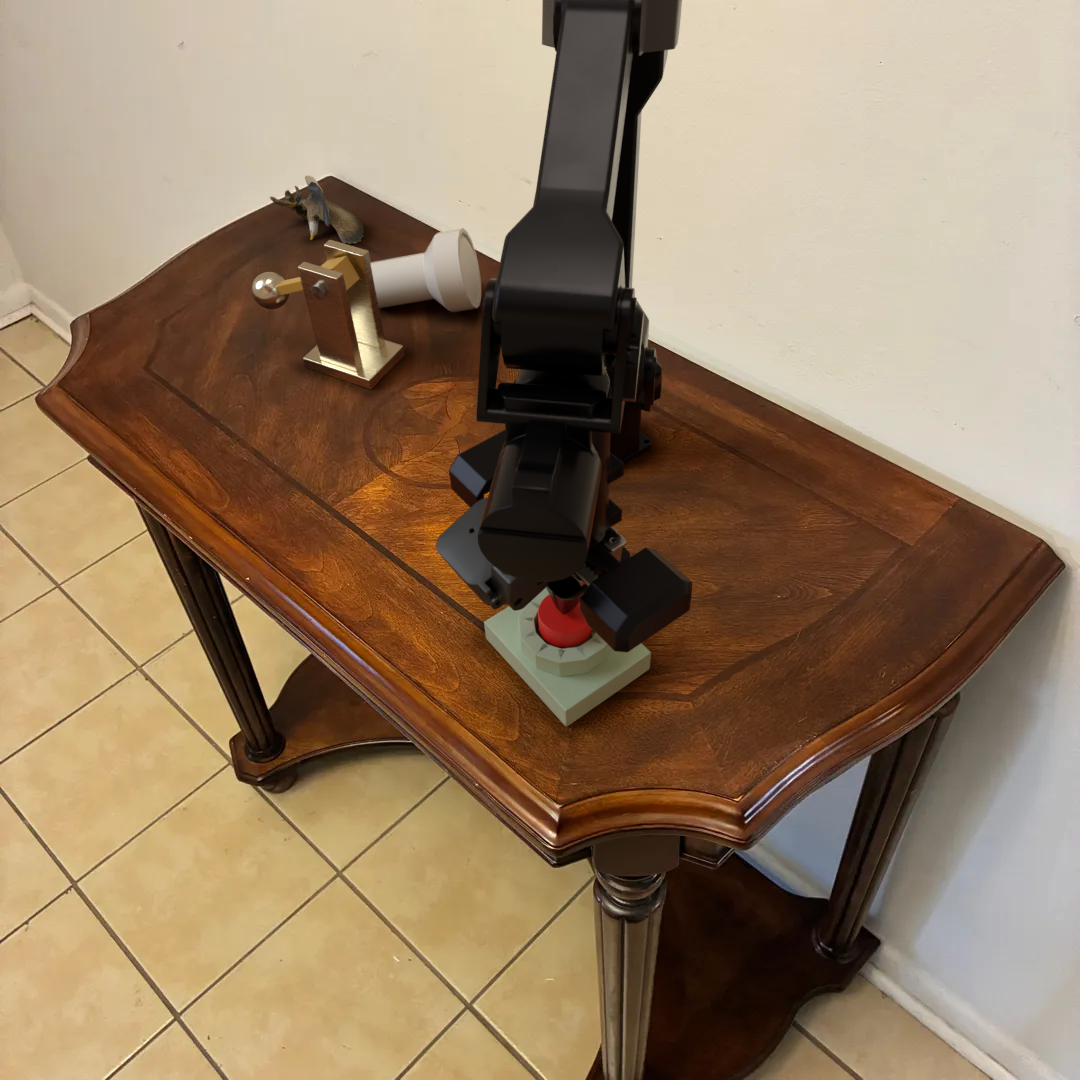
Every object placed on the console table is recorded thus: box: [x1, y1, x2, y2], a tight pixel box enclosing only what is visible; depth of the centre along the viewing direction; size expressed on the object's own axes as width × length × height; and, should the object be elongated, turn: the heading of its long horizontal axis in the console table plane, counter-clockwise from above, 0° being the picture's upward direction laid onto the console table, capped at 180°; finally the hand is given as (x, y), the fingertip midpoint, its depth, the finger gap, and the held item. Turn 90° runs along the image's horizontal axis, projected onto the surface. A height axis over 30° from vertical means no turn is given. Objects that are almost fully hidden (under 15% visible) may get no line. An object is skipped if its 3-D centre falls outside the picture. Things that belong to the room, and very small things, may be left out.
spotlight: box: [370, 227, 482, 313], centre depth 103 cm, size 8×11×8 cm
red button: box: [538, 595, 593, 648], centre depth 72 cm, size 4×4×2 cm
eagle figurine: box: [269, 174, 365, 245], centre depth 113 cm, size 8×7×9 cm
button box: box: [483, 588, 652, 728], centre depth 74 cm, size 10×8×4 cm
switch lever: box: [251, 256, 360, 310], centre depth 95 cm, size 13×4×4 cm, turn 62°
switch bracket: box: [297, 239, 405, 390], centre depth 95 cm, size 8×6×12 cm
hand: (565, 608), depth 71 cm, fingers closed
